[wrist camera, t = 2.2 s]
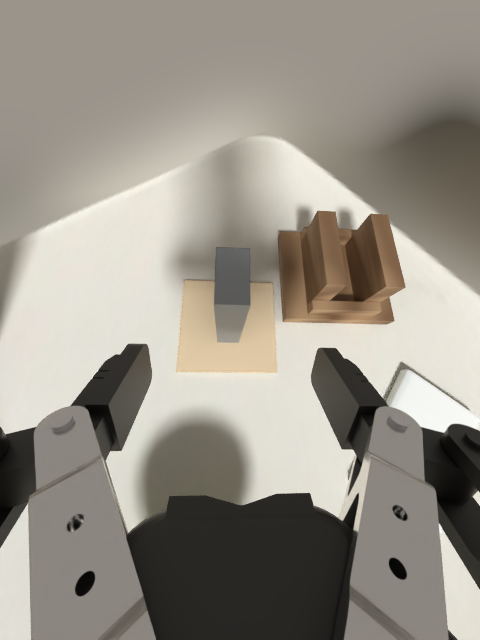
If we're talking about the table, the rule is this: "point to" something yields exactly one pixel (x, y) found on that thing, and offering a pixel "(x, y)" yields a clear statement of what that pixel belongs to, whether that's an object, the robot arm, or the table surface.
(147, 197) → the table surface
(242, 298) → the grey rectangular block
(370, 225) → the rack
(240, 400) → the table surface
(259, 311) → the cork mat
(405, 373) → the external hard drive
